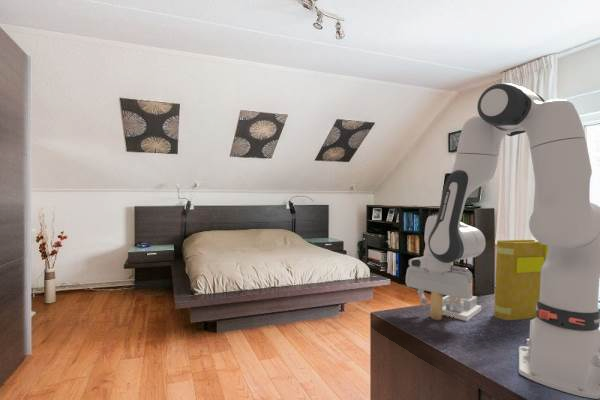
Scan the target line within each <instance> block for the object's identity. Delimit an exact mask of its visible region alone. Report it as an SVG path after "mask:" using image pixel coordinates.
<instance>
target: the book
mask: <svg viewBox="0 0 600 400" xmlns="http://www.w3.org/2000/svg"><path fill="white" fill-rule="evenodd" d="M535 240H536V239H528V238H527V239H502V240H501V239H500V240H499V239H498V240H497V241H496V244H497V245H496V265H495V282H494V283H495V286H494V290H495V291H494V309H493V310H494V311H493V316H494V317H495V318H497V319H500V320H505V321H516V320H517V321H518V320H523V319H531V318H532V319H534V318H536V317H537V316H536V305H537V301H538V300H539V297H540V274H541V267H542V265H543V264H544V262H545V259H546V256H547V253H548V249H549V246H547V245H544V244H542V243H540V242H539V241H537V240H536V241H535Z"/></svg>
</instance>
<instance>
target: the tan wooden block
mask: <svg viewBox="0 0 600 400" xmlns="http://www.w3.org/2000/svg"><path fill="white" fill-rule="evenodd" d="M443 297H444V295H443V294H439V293H436V292H430V309H429V310H430V311H429V316H430V317H431V318H430V317H429V318H430V319H432V320H435V321H441V319H442V320H443V315H442V310H443Z"/></svg>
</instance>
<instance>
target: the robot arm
mask: <svg viewBox="0 0 600 400" xmlns="http://www.w3.org/2000/svg"><path fill="white" fill-rule="evenodd" d="M476 108H477V112H478V113H477V114H478V115H477V116H476V115H475V116H472V117H471V118H469V119H467V120H466V121H465V122H464V124H463V127H462V129H461V132H460V134H459V138H458V143H457V149H456V155H455V161H454V164H453V168H452V170H451V173H450V174H449V176H448V177H447V179H446V182H445V185H444V188H443V193H442V196H441V200H440V204H439V210H438V212H437V213H433V214H431V215H429V216H428V217H427V218H426V221H425V227H424V239H423V240H424V243H425V246H424V250H423V256H417V257H413V258H410V259H408V267H407V268H406V273H405V285H406V287H408V288H412V289H417V294H418V296H419V298H420V303H421V304H427V303H428V297H426V296H425V294H424V292H425V291H426V292H429V293H431V292H436V293H439V294H443V296H447V295H448V296H450V299H451V300H452V301H451V302H450V303H447V304H446V309H448V310H452V309H453V304H454V302H455V301H456V300H457V298H461V299H468V298H469V297H470V296H473V295H472V290H473V289H472V281H473V273H472V271H470V270H469V269H468V268H467V267H460V266H457V265H454V262H457V261H459V260H467V259H472V258H476V257H478V256H480V255H482V254H483V253H484V251H485V249H486V248H487V247H486V246H487V241H486V237H485V234H484V233H483V231H481V230H480V228H478V227H474V226H471V225H468V224H467V223H465V222H462V221H461V220H462V217H463V212H464V209H465V205H466V201H467V199H468V198H469V197H470V195H471V194H472V193H473V192H474V191H475V190H477V189H478V188H480V187H482V186H484V185H486V184H487V183H489V182H490V181H491V180H492V179H493V178H494V175H495V173H496V171H497V167H498V163H499V155H500V147H501V143H502V140H503V139H504V137H506V136H507V137H514V136H516V135H521V134H524V133H525V134H526V135H527V139H528V144H529V145H528V146H529V152H530V157H531V163H532V170H533V176H534V194H533V206H532V207H533V209H532V210H533V211H532V213H531V215H530V218H529V219H528V220H529V221H528V227H529V231H530V234H531V235H532V236H533V238H534V240H536V242H537V241H539V242H540V243H542V244H544V245H547V246H548V253H547V256H546V259H545V262H544V264H543V265H542V267H541V274H540V297H539V300H538V301H537V305H536V316H537V317H534V318H532V319H530V321H529V337H528V338H526V339H525V344H526V345H528V346H525V345H520V346H519V347H518V374H520V375H521V376H523V377H525V378H527V379H529V380H531V381H533V382H535V383H538V384H541V385H544V386H545V387H549V388H551V389H555V390H558V391H560V392H564V393H567V394H571V395H574V396H575V395H576V396H577V397H584V398H589V399H595V400H596V399H597V400H598V399H600V310H599V294H600V293H599V292H600V206H599V205H597V204H595V203H593V202H590V201H591V200H590V197H591V195H590V193H591V192H590V188H591V187H590V185H591V184H590V183H591V177H592V174H593V170H592V165H591V159H590V155H589V154H590V153H589V148H588V143H587V137H586V134H585V129H584V127H583V123H582V120H581V118H580V116H579V114H578V113H579V112H578V111H577V108H576V107H575V105H574V103H572V102H571V101H569V100H566V99H561V98H560V99H559V98H557V99H556V98H555V99H554V98H553V99H550V100H545V99H544V98H543V97H542V96H541V95H539V94H537V93H534V92H532V91H531V90H529V89H527V88H525V87H523V86H518V85H516V84H513V83H507V82H505V83H501V82H500V83H496V84H494V85H491V86H489V87H488V88H486V89H485V90H484V91H483V92H482V93H481V95H480V96H479V99H478V101H477V107H476Z"/></svg>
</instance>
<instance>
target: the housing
mask: <svg viewBox="0 0 600 400" xmlns="http://www.w3.org/2000/svg"><path fill="white" fill-rule="evenodd" d="M451 301H452V300H451V299H450V296H448V295H444V296H443V310H442V316H445V315H446V317H449V316H450V317H451V318H453V317H454V318H453V319H457V320H460V321H461V320H462V321H464V322H468V321H469V320H470V319H472V318H473V317H474V316H476V315H477V314H479V313H480V312H481V311H482V305H478V296H475V295H471V296H470V297H469V298H468V299H461V298H457V300H456V301H455V302H454V304H453V309H452V310H448V309H446V304H447V303H450V302H451ZM450 317H449V318H450Z"/></svg>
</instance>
